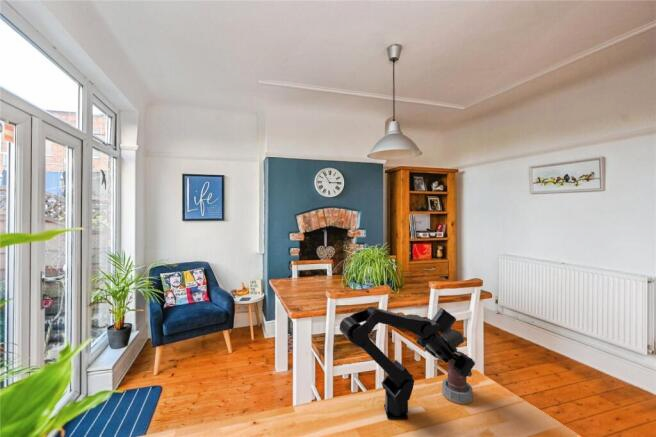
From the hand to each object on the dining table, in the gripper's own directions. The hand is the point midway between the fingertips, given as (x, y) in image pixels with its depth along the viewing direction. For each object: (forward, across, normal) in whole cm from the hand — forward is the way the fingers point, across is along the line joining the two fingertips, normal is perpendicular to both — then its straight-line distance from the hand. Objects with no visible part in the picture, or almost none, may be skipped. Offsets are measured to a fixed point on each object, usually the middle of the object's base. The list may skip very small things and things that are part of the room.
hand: (460, 368), depth 106 cm
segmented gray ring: (+6, 0, +8) cm, 10 cm away
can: (+5, 0, +7) cm, 9 cm away
